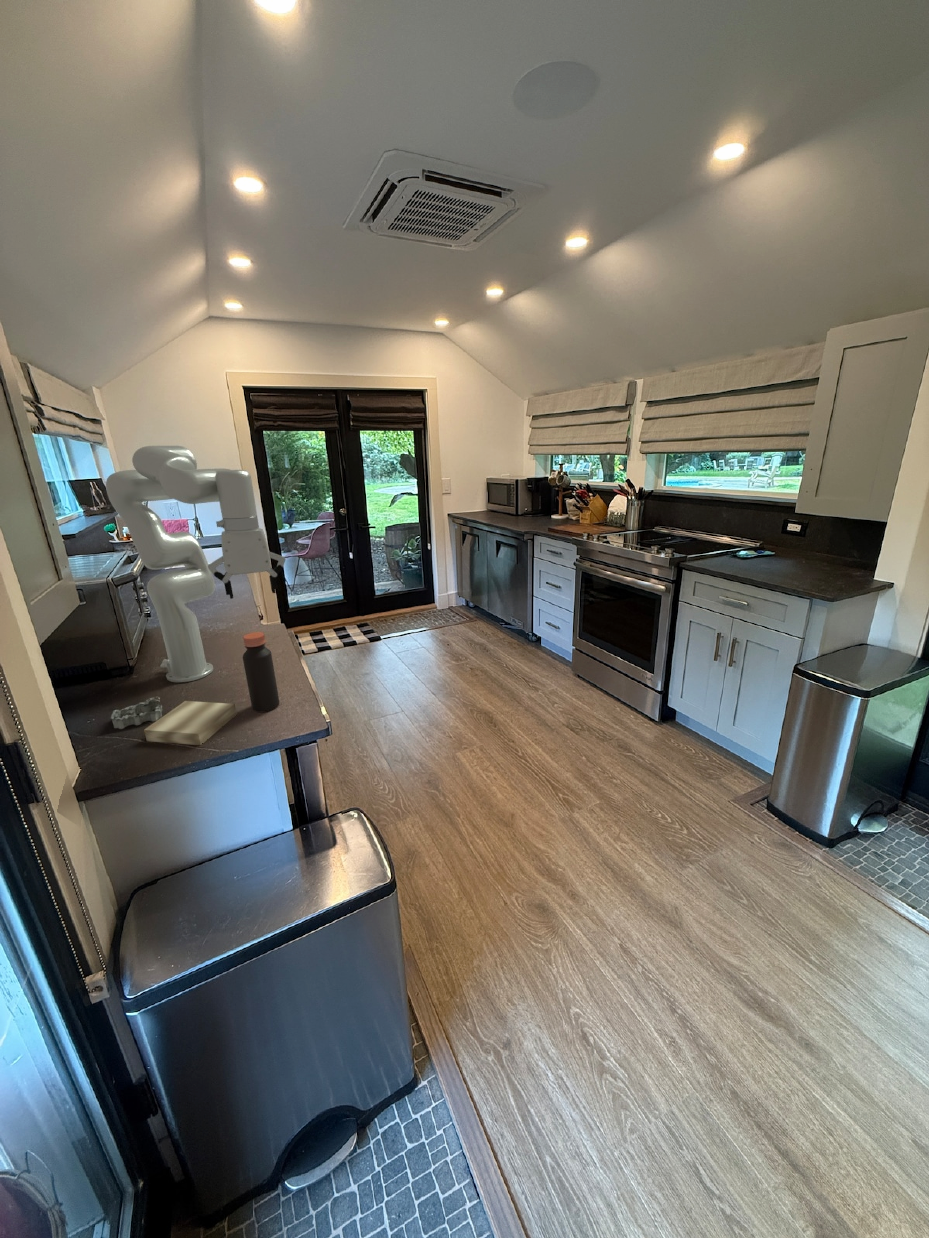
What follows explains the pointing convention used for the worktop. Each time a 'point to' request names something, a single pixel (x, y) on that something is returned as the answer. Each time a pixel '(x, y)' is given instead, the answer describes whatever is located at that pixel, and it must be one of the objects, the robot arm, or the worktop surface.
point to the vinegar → (260, 673)
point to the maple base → (191, 723)
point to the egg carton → (130, 713)
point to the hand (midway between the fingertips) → (253, 594)
